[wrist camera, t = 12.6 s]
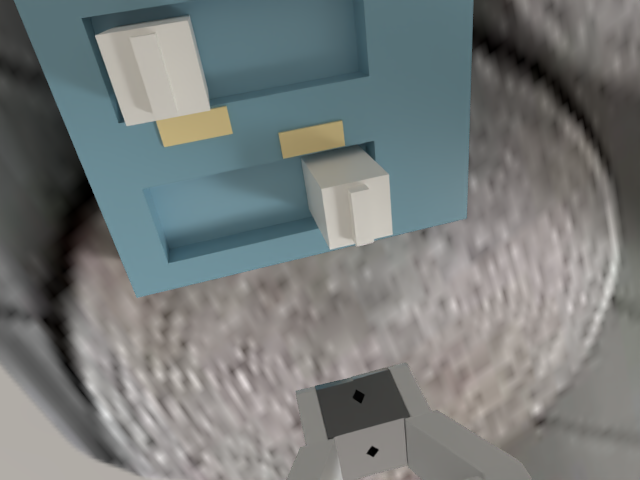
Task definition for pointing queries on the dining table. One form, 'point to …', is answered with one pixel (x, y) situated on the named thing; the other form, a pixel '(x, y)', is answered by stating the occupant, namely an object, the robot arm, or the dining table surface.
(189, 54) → the tab near
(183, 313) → the dining table surface
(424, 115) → the switch bank
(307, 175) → the tab far
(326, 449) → the robot arm
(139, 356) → the dining table surface
